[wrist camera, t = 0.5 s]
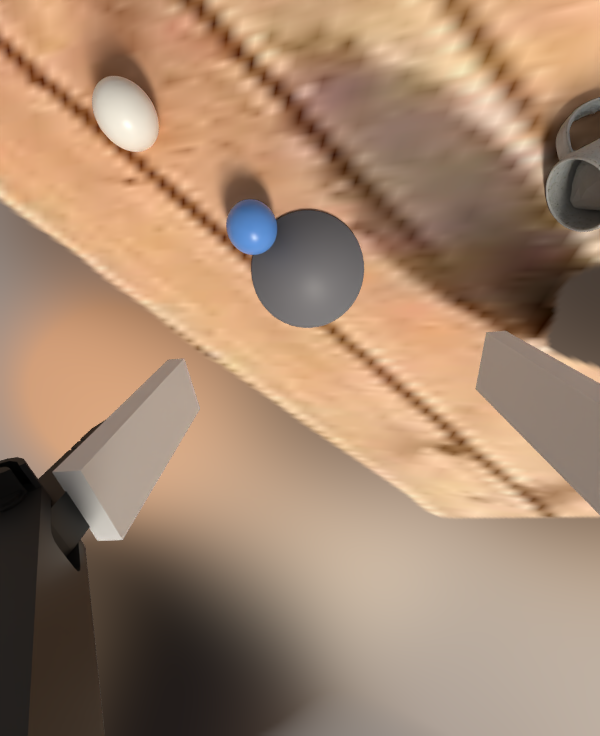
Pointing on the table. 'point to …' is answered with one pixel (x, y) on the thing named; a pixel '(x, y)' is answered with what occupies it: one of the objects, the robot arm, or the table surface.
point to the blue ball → (251, 227)
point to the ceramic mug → (576, 178)
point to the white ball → (125, 113)
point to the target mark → (309, 270)
